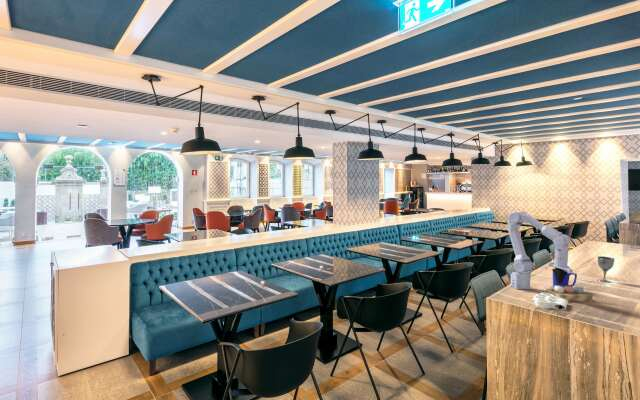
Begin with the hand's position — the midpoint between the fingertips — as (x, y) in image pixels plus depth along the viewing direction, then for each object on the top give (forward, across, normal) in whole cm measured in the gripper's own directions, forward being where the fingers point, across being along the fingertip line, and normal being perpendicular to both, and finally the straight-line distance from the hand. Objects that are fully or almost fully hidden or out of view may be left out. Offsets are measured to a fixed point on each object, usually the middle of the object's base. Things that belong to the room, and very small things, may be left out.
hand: (559, 283), depth 173 cm
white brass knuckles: (+8, -10, +12) cm, 18 cm away
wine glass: (+8, +34, -54) cm, 64 cm away
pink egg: (+5, 0, -5) cm, 7 cm away
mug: (+8, +16, -15) cm, 23 cm away
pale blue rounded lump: (+5, 0, -10) cm, 12 cm away
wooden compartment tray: (+8, 0, -5) cm, 9 cm away
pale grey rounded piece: (+5, 0, 0) cm, 5 cm away
